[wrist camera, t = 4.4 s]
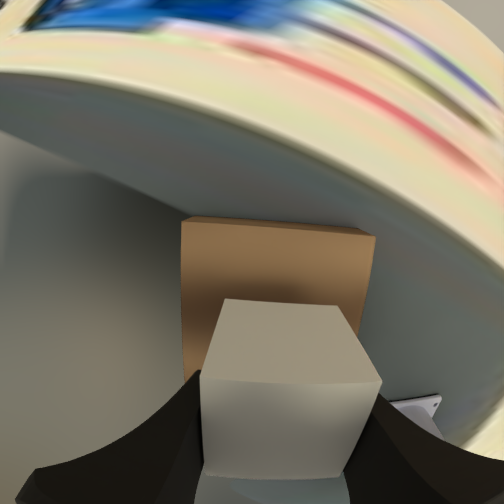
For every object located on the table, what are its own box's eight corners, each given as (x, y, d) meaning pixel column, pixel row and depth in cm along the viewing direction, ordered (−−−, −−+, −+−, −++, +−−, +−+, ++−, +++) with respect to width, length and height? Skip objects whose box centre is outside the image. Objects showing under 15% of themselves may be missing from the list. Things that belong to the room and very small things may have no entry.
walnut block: (332, 366, 19) (341, 391, 16) (194, 357, 19) (184, 382, 16) (357, 228, 17) (375, 236, 14) (195, 215, 17) (181, 221, 14)
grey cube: (318, 391, 12) (339, 476, 7) (222, 387, 12) (205, 474, 7) (337, 305, 11) (382, 381, 6) (225, 298, 11) (199, 376, 6)
